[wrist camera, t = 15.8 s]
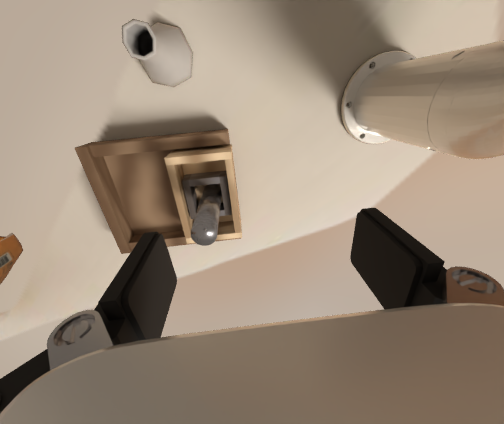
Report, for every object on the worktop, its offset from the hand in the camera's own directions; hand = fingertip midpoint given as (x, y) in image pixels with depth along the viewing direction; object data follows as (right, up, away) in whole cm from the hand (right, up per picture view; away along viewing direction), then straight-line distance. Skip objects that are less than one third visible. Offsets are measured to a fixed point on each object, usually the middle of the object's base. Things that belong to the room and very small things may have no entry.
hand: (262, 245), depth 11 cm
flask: (-12, +23, +19) cm, 32 cm away
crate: (-8, +5, +27) cm, 28 cm away
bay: (-14, +5, +28) cm, 32 cm away
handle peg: (-7, +5, +26) cm, 28 cm away
